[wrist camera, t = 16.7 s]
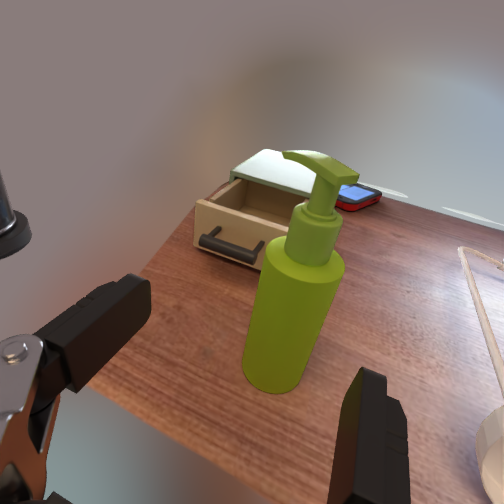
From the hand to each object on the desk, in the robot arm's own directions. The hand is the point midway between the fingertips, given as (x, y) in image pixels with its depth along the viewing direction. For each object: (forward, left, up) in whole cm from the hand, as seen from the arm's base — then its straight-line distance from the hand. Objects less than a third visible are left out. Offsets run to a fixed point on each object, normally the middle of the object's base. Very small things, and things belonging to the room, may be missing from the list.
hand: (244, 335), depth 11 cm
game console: (+1, +62, -17) cm, 65 cm away
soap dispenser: (0, +12, -17) cm, 21 cm away
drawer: (-9, +30, -16) cm, 35 cm away
